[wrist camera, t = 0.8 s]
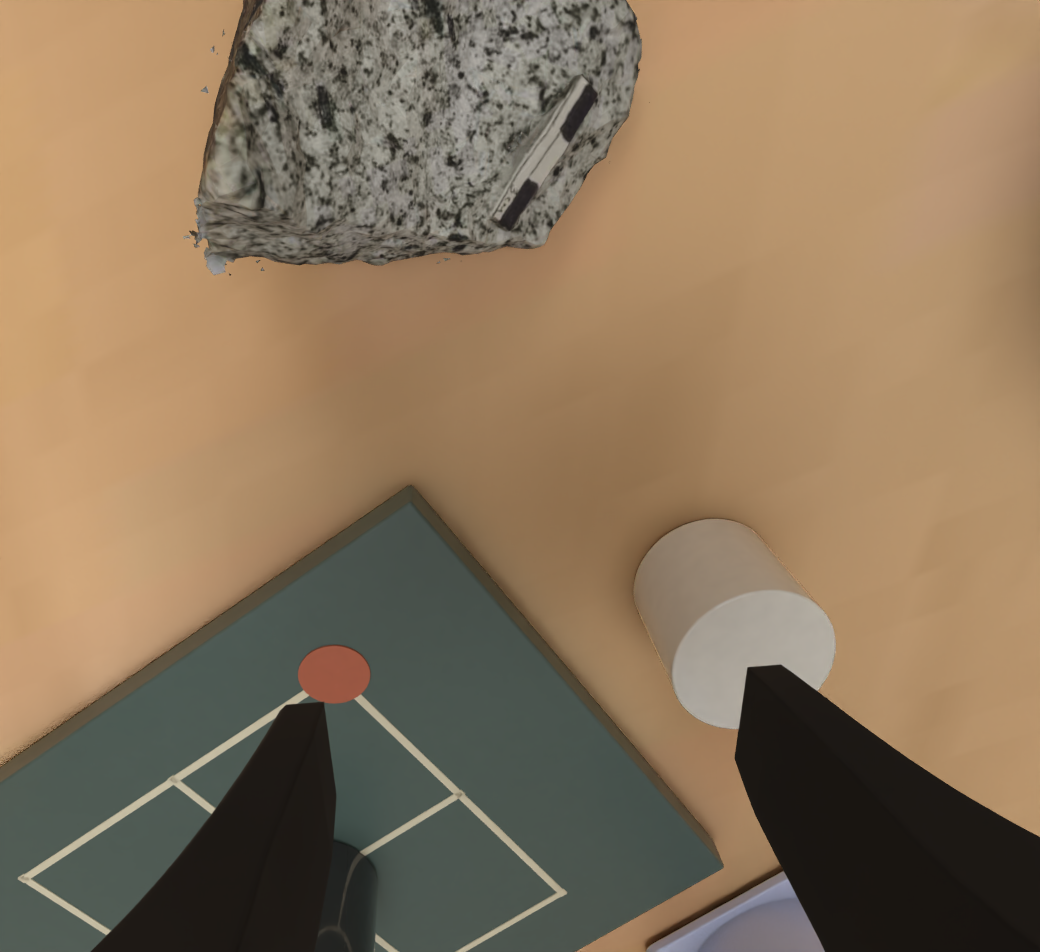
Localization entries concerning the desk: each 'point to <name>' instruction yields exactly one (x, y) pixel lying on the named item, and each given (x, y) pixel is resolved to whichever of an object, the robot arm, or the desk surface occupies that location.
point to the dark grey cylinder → (349, 903)
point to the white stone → (727, 616)
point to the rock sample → (409, 125)
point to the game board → (361, 761)
